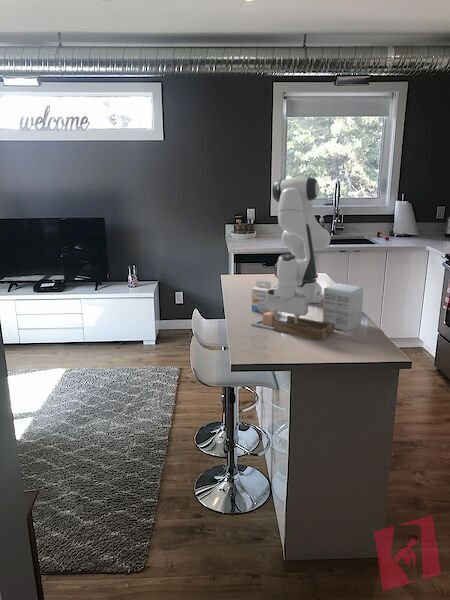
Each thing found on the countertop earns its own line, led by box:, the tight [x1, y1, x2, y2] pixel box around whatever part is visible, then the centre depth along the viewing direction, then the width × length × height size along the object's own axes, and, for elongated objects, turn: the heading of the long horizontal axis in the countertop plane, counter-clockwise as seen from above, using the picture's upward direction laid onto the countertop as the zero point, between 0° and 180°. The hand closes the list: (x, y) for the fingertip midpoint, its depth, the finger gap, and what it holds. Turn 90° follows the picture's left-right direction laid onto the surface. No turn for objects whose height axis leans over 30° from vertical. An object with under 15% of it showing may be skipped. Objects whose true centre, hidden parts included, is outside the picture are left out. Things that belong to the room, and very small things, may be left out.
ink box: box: [251, 280, 272, 314], centre depth 239 cm, size 8×5×15 cm, turn 60°
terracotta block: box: [261, 311, 279, 327], centre depth 219 cm, size 5×5×5 cm
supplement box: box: [322, 282, 364, 332], centre depth 216 cm, size 13×13×18 cm
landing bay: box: [251, 318, 287, 331], centre depth 220 cm, size 13×12×1 cm
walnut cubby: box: [273, 315, 335, 341], centre depth 210 cm, size 13×22×4 cm, turn 53°
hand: (285, 321), depth 215 cm, fingers open, 8 cm apart
